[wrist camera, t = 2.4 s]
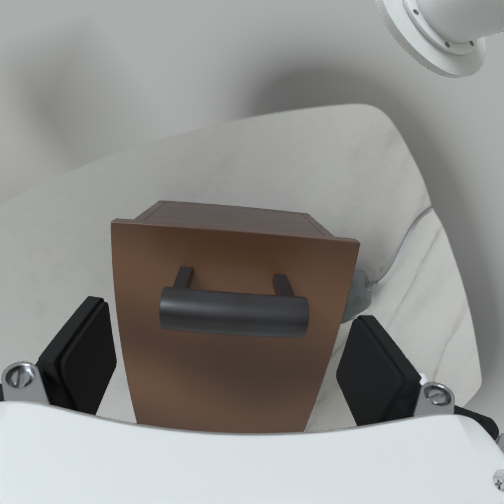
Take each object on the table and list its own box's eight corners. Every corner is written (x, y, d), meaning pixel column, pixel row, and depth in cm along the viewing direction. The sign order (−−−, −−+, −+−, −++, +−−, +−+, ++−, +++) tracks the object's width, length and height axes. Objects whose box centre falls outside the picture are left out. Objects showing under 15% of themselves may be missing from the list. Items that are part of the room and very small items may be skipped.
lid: (115, 218, 15) (67, 250, 10) (355, 238, 17) (403, 277, 11) (138, 417, 20) (125, 470, 15) (301, 426, 22) (314, 479, 16)
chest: (159, 200, 26) (116, 231, 16) (308, 213, 27) (352, 251, 17) (160, 343, 31) (139, 416, 20) (283, 352, 32) (301, 425, 22)
